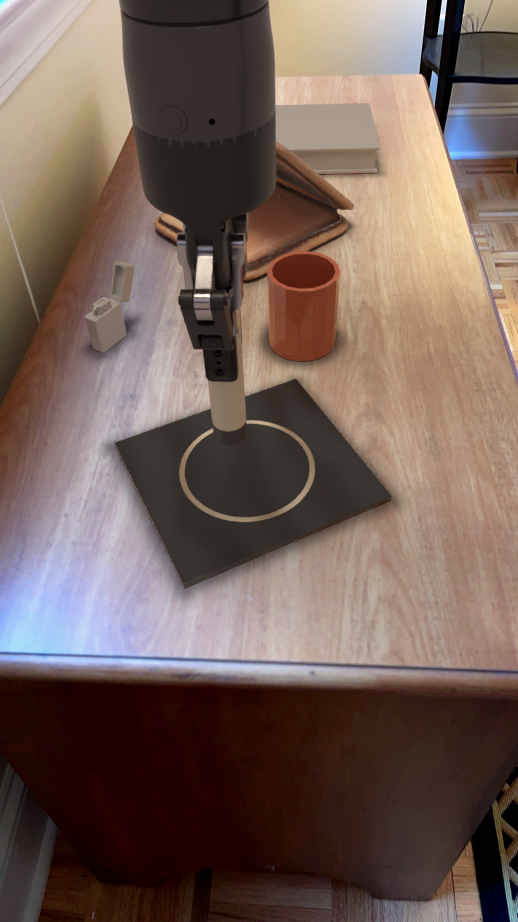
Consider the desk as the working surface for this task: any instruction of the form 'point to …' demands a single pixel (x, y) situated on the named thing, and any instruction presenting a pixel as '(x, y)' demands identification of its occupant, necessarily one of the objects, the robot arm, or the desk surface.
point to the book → (329, 136)
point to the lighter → (111, 310)
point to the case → (285, 215)
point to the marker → (229, 403)
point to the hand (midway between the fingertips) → (224, 362)
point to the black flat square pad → (247, 482)
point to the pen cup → (303, 305)
